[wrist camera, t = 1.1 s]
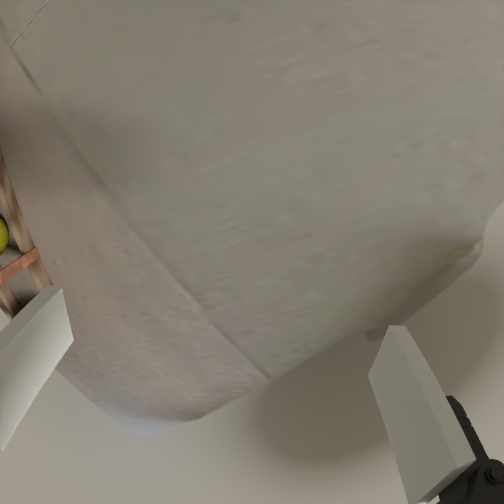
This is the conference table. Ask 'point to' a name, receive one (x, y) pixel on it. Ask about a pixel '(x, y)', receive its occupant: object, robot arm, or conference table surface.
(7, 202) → the lane
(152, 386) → the conference table surface
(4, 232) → the tennis ball
